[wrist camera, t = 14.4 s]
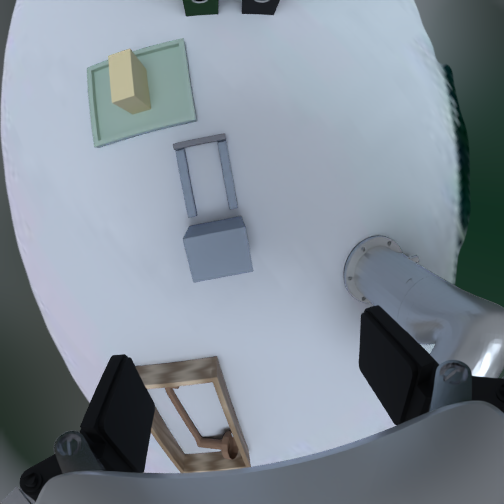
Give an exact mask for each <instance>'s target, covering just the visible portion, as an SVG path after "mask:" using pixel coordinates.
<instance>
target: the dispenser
mask: <svg viewBox="0 0 504 504" xmlns="http://www.w3.org/2000/svg"><path fill="white" fill-rule="evenodd" d="M214 141H218V142H219V143H218V147H219V153H220V158H221V164H222V170H223V175H224V181H225V186H226V192H227V197H228V203H229V208H230V209H235V208H238V206H237V201H236V195H235V189H234V184H233V178H232V172H231V167H230V161H229V155H228V150H227V144H226V136H225V134H219V135H214V136H208V137H203V138H198V139H194V140H189V141H184V142H180V143H175V144H173V148H174V150H176V157H177V162H178V168H179V173H180V178H181V183H182V189H183V194H184V199H185V203H186V208H187V213H188V218H189V217H194V216H197V212H196V207H195V202H194V197H193V192H192V187H191V182H190V177H189V171H188V166H187V161H186V155H185V150H181V149H184V147H189V146H194V145H199V144H204V143H209V142H214ZM221 141H224V142H221ZM177 150H180V151H177ZM183 242H184V246H185V250H186V254H187V258H188V262H189V267H190V271H191V274H192V278H193V282H200V281H205V280H210V279H216V278H221V277H226V276H232V275H237V274H242V273H247V272H252V271H253V267H252V261H251V255H250V250H249V244H248V238H247V233H246V227H245V224H244V222H243V220H242V217H241V216H239V217H234V218H228V219H223V220H218V221H213V222H208V223H203V224H198V225H193V226H189V228H188V230H187V232H186V234H185V236H184V238H183Z"/></svg>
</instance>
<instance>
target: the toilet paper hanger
mask: <svg viewBox="0 0 504 504" xmlns="http://www.w3.org/2000/svg"><path fill="white" fill-rule="evenodd" d="M172 388H175V389H178V388H179V386H177V387H166V388H165V390H166V392H167V394H168V396H169V398H170V399H171V401H172V403H173V404H174V406H175V408H176V409H177V411H178V413H179V414H180V416H181V418H182V419H183V421H184V422H185V424H186V426H187V427H188V429H189V430H190V432H191V433H192V435H193V436H194V438H195V440H196V442H197V446H198V447H203V448H211V449H221V451H222V454H223V457H224V458H225V459H229V460H233V459H235V458H236V456H237V454H238V450H239V449H238V446H237V444H236V441H235V439H234V437H232V435H231V433H232V432H231V431H227V432H225V434H224V436H223V439H222V440H220V439H210V438H203V437H201V436H200V434H199V433H198V431H197V430H196V428H195V426H194V425H193V423H192V421H191V420H190V418H189V417H188V415H187V413H186V411H185V410H184V408H183V406H182V405H181V403H180V401H179V399H178V398H177V396H176V394H175V392H174V391H173V389H172Z"/></svg>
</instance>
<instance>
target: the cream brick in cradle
mask: <svg viewBox="0 0 504 504" xmlns="http://www.w3.org/2000/svg"><path fill="white" fill-rule="evenodd" d="M108 61H109V76H110V88H111V99H112V103H113V104H115V105H117V106H119V107H120V108H122V109H124V110H126V111H127V112H129V113H131V114H136V113H139V112H143V111H147V110H150V109H151V103H150V95H149V87H148V79H147V70H146V68H145V67H144V66H143V64H142V63H141V62H140V61H139V59H138V58H137V57H136V56H135V54H134V53H133V52H132V50H131V49H127V50H124V51H121V52H118V53H115V54H113V55H110V56H108Z"/></svg>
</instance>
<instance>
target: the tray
mask: <svg viewBox="0 0 504 504" xmlns="http://www.w3.org/2000/svg"><path fill="white" fill-rule="evenodd" d="M133 53H134V54H135V56H136V57H137V58H138V59H139V61H140V62H141V63H142V64H143V66H144V67H145V68H146V70H147V79H148V87H149V95H150V103H151V109H150V110H147V111H143V112H139V113H136V114H131V113H129V112H127V111H126V110H124V109H122V108H120V107H119V106H117V105H115V104H113V103H112V99H111V88H110V76H109V61H108V60H106V61H104V62H101V63H98V64H96V65H93V66H91V67H88V68H87V82H88V96H89V107H90V117H91V126H92V134H93V141H94V147H97V148H100V147H103V146H106V145H109V144H112V143H115V142H118V141H121V140H125V139H128V138H131V137H135V136H138V135H142V134H145V133H149V132H153V131H157V130H161V129H165V128H169V127H173V126H177V125H182V124H186V123H191V122H196V121H197V119H196V113H195V107H194V101H193V95H192V89H191V82H190V76H189V69H188V62H187V55H186V48H185V42H184V38H182V39H178V40H173V41H169V42H165V43H161V44H157V45H153V46H150V47H146V48H142V49H139V50H136V51H133Z"/></svg>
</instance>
